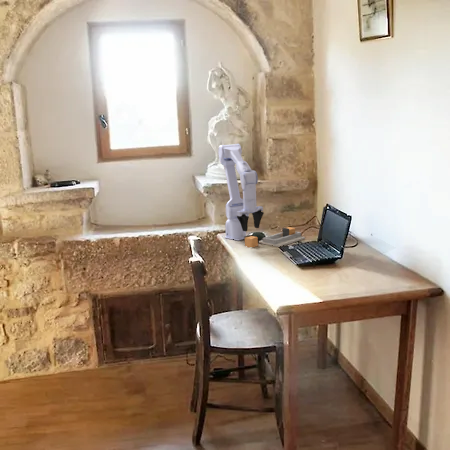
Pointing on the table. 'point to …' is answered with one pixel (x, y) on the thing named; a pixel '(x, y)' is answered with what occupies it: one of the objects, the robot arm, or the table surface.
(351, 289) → the table surface
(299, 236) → the grey frame base
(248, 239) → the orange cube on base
